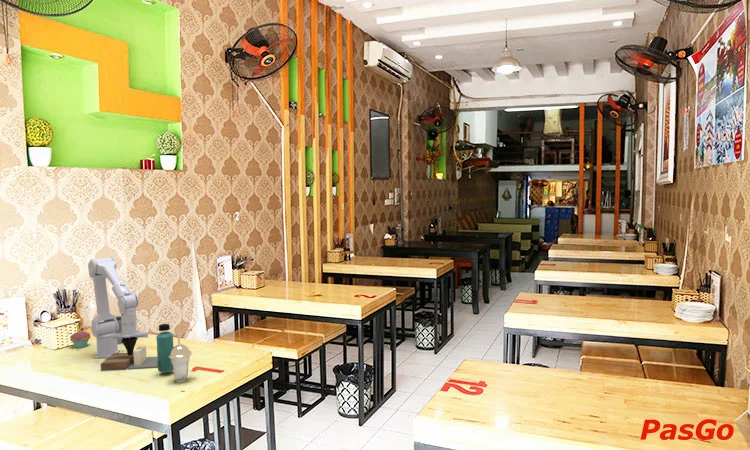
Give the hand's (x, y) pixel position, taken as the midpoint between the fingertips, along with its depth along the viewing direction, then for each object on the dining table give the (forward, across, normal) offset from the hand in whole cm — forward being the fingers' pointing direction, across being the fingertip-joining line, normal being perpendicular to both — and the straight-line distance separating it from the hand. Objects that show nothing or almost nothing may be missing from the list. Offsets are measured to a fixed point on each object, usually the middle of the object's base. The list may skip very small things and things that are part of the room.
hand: (130, 354), depth 223 cm
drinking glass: (+4, -18, +36) cm, 41 cm away
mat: (+4, +7, 0) cm, 8 cm away
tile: (0, +4, 0) cm, 4 cm away
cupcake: (+4, -34, +32) cm, 47 cm away
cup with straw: (+4, +26, -24) cm, 36 cm away
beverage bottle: (+4, +18, -15) cm, 24 cm away
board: (+4, -4, 0) cm, 6 cm away
